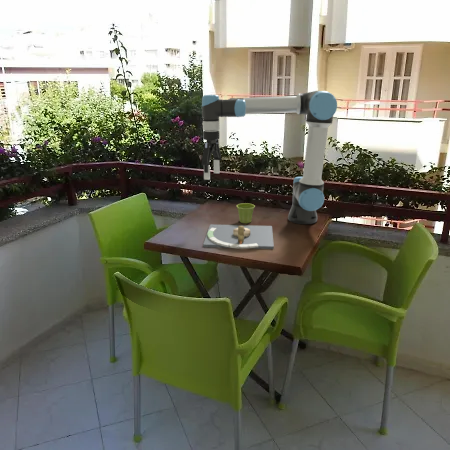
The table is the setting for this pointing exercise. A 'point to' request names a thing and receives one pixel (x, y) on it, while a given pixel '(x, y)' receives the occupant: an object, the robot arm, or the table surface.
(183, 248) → the table surface
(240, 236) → the dial
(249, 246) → the scale board
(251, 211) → the plant pot
